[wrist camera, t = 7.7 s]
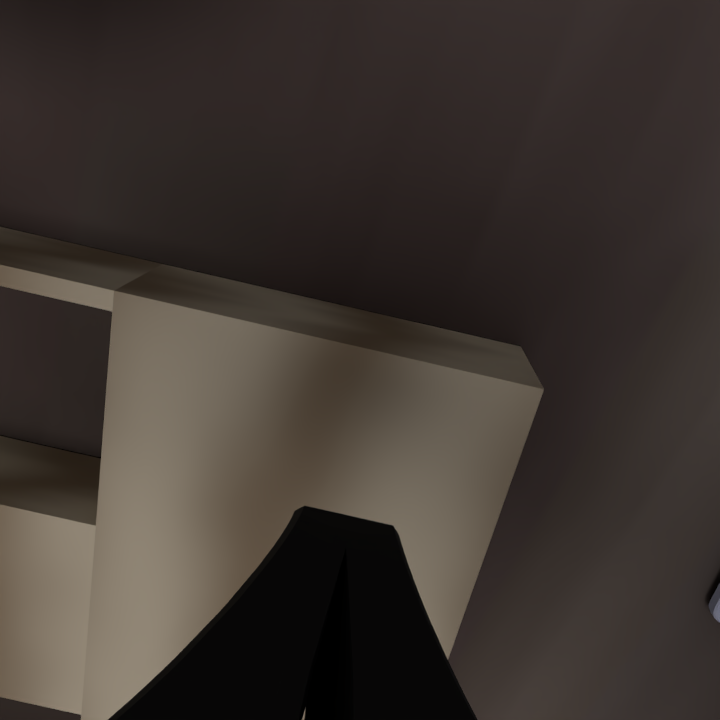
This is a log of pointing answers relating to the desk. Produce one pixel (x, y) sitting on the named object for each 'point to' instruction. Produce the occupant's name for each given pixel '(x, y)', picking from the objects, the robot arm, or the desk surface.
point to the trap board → (235, 464)
